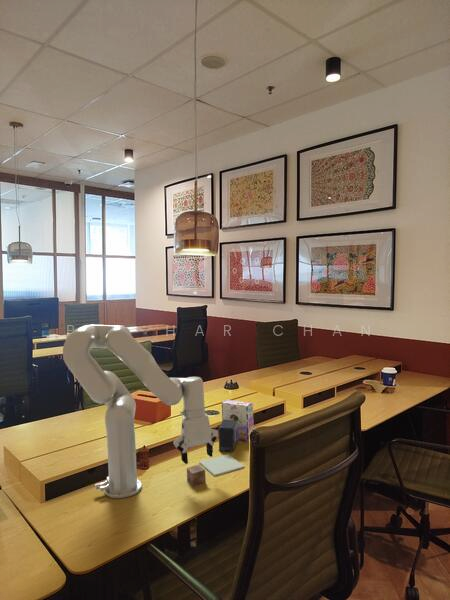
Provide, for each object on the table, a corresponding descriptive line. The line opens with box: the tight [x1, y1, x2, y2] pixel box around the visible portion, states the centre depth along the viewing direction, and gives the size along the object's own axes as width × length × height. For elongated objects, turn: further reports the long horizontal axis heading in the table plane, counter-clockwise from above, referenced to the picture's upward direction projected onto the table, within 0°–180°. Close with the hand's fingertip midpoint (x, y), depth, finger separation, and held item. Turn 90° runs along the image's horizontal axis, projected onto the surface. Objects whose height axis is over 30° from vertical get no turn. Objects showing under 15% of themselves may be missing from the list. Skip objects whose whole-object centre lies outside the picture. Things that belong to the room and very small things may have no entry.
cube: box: [186, 464, 207, 488], centre depth 146 cm, size 5×5×5 cm
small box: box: [218, 419, 238, 453], centre depth 176 cm, size 11×6×10 cm, turn 168°
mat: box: [199, 453, 245, 477], centre depth 159 cm, size 13×13×1 cm
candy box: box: [221, 399, 255, 443], centre depth 187 cm, size 14×6×16 cm, turn 58°
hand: (197, 458), depth 146 cm, fingers open, 9 cm apart
